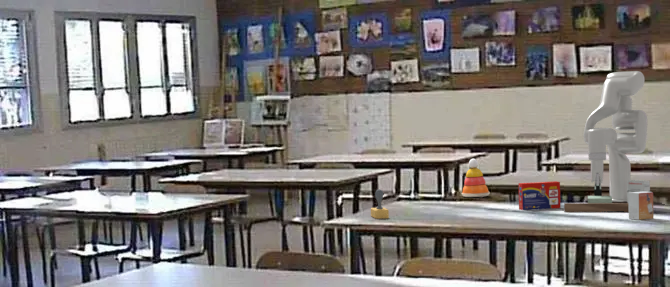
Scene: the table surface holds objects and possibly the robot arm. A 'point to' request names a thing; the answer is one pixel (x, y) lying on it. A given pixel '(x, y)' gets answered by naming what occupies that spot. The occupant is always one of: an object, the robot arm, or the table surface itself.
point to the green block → (599, 199)
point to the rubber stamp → (379, 207)
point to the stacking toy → (474, 182)
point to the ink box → (637, 186)
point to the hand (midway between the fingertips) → (598, 198)
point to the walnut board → (595, 207)
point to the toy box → (539, 195)
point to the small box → (640, 205)
